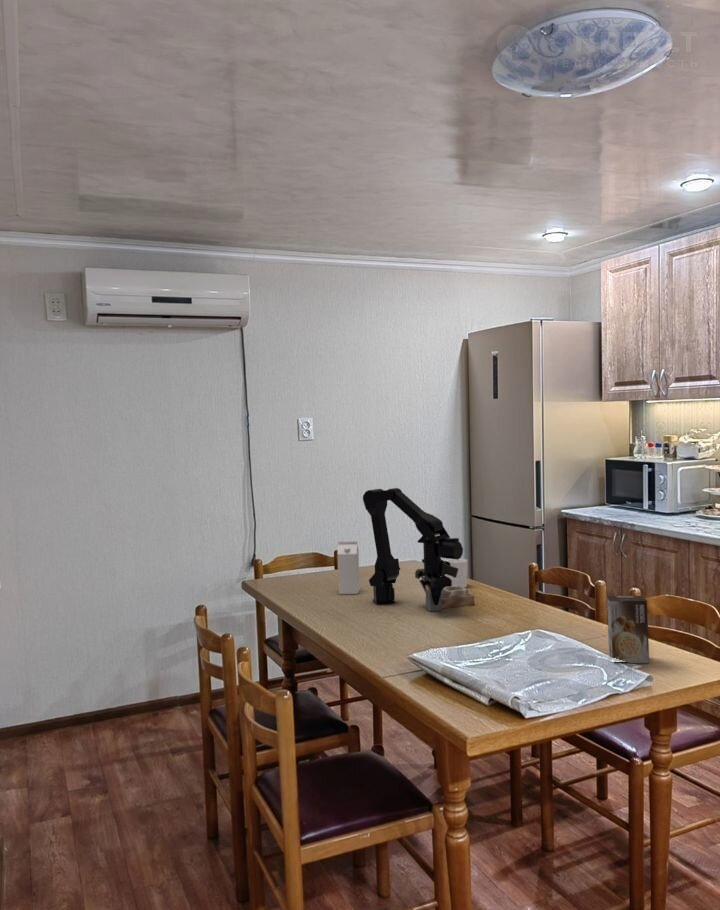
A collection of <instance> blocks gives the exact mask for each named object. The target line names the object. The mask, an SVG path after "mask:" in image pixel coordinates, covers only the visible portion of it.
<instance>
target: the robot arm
mask: <svg viewBox="0 0 720 910" xmlns="http://www.w3.org/2000/svg"><path fill="white" fill-rule="evenodd" d="M362 501H363V505H364V508H365V509H366V511H367V513H368V514H369V516H370V519H371V524H372V525H371V526H372V530H373V538H374V543H375V549H376V560H375V564H374V573H373V575H371V577H370V578H369V579H368V583H369V586H370V587H373V588H372V591H373V599H371V601H372V602H374V603H375V604H376V605H385V604H395V603H396V601H395V600H396V599H395V598H396V597H395V588H394V586H393V584H396V582H397V578H398V577H399V576H400V570H401V568H400V564H399V563H400V562H399V558H394V556H393V554H392V550H391V545H390V538H389V532H388V525H387V519H386V511H387V508H388V501H390V502H392V503H393V504H394V506H396V507H397V508H398V509H399V510H400V511H402V512H403V513H404V514H405V515H406V516H407V517H408V518H409V519H410V520H412V521H413V523H414V524H415V527H416V529H417V531H418V532H419V533H420V534H421V537H420V538H419V539H418V540H417V543H419V544H420V543H421V544H423V545H422V546H423V547H422V548H423V558H422V559H421V563H423V568H417V569H416V570H415V572H414V577H415V579H417V580H418V579H420V578H421V579H420V580H419V583H420V585H421V586H422V589H423V590H424V593H425V594H426V587H425V585H428V588H429V591H430V594H431V597H432V600H433V602H434V605H438V602H439V599H440V595H441V592H442V589H443V588H445V587H450V586H452V580H451V579H450V578H449V577H448V575H450V576H453V577H455V578H456V576H457V572H458V568H456V567H453V566H451V565H450V562H447V561H446V560H444V559H447V560H449V559H462V556H463V553H464V548H463V545H462V542H460V538H459V537H454V538H453V537H450V535H449V534H448V531H447V530H446V528H445V527H444V525H443V521H442V520H441V519H439V517H437V516H436V515H433V514H431V513H428V512H425V510H423V509H422V508H421V507H420V506H419V505H417V504H416V503H415V502H414V501H413V500H412V499H410V497H408V496H407V495H406V494H405V493H404V492H403V491H402V490H401V489H400V488H398V487H394V488H389V489H386V490H384V489H382V488H374V489H368V490H366V491H365V492H364V494H363V495H362ZM446 575H447V576H446Z"/></svg>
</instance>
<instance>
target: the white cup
mask: <svg viewBox="0 0 720 910" xmlns="http://www.w3.org/2000/svg"><path fill="white" fill-rule="evenodd" d="M445 561H447V562H450V565H451V566H453V567H456V568H458V572H457V576H456V578H455V577H453V576H450V575H447V577H449V578H450V579H451V580H452V586H459V585H460V586H462V587H464V588H466V589H467V586H468V582H467V580H468V559H465V558H460V559H447V560H445Z"/></svg>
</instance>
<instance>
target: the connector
mask: <svg viewBox="0 0 720 910" xmlns="http://www.w3.org/2000/svg"><path fill="white" fill-rule="evenodd" d="M425 587H426V593H425V609H426V610H427V611H429V612H439V611H443V608H442V599H441V595H440V599H439V602H438V605H434V602H433V600H432V597H431V594H430V591H429V588H428V585H425Z"/></svg>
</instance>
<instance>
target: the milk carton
mask: <svg viewBox="0 0 720 910" xmlns="http://www.w3.org/2000/svg"><path fill="white" fill-rule="evenodd" d="M337 544H338V545H337V578H338V595H358V594H359V593H360V589H361V583H360V582H361V581H360V556H359V552H360V551H359V545H358V541H355V540H354V541H338V542H337Z"/></svg>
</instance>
